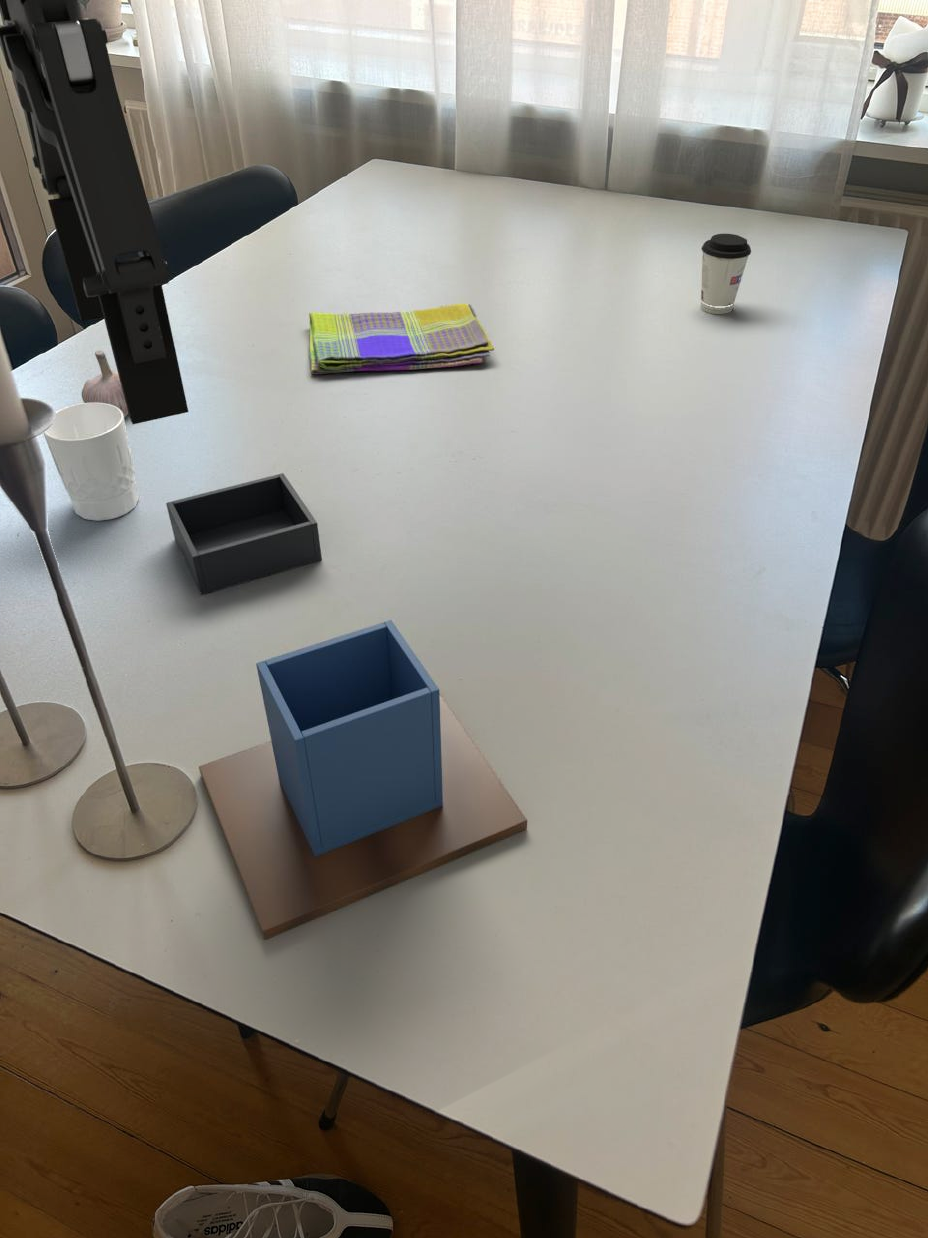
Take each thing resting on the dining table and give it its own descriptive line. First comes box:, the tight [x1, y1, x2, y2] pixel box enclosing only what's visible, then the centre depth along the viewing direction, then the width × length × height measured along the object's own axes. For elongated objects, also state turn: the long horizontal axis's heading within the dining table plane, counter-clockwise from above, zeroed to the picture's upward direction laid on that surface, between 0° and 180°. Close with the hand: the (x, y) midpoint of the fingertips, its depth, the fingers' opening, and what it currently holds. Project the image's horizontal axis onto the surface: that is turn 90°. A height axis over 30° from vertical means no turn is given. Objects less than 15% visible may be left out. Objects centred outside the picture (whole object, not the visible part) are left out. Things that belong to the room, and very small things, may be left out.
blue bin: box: [255, 619, 443, 857], centre depth 68 cm, size 10×8×12 cm
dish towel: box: [308, 302, 495, 375], centre depth 133 cm, size 18×24×3 cm
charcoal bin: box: [165, 472, 323, 596], centre depth 96 cm, size 12×10×4 cm
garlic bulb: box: [81, 350, 129, 419], centre depth 117 cm, size 8×7×8 cm
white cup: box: [43, 402, 140, 522], centre depth 101 cm, size 8×8×10 cm
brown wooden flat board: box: [198, 692, 528, 940], centre depth 72 cm, size 20×16×1 cm
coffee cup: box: [700, 233, 752, 315], centre depth 140 cm, size 7×7×10 cm
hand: (129, 360), depth 52 cm, fingers open, 13 cm apart
